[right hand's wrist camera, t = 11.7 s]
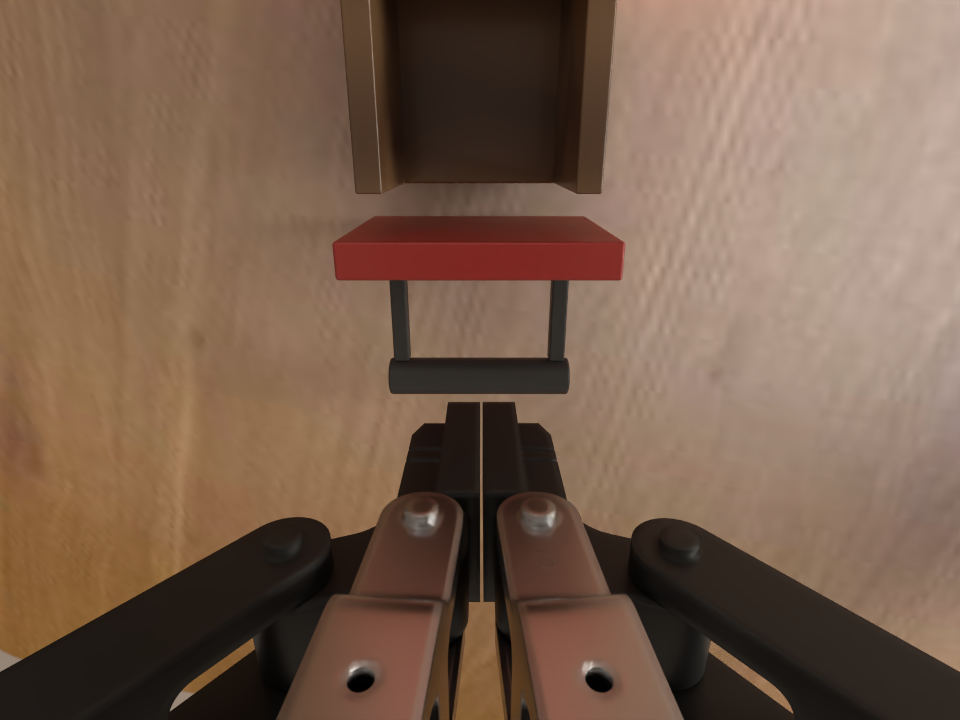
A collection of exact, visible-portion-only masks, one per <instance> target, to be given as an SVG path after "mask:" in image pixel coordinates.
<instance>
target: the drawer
mask: <svg viewBox="0 0 960 720" xmlns="http://www.w3.org/2000/svg"><path fill="white" fill-rule="evenodd" d="M340 3H341V16H342V28H343V41H344V53H345V66H346V79H347V91H348V104H349V117H350V129H351V142H352V154H353V167H354V180H355V192H356V193H357V194H381V193H383V192H386V191H388V190H390V189H392V188H395V187H397V186H399V185H401V184H404V183H555V184H557V185H559V186H561V187H564V188H566V189H568V190H570V191H572V192H574V193H577V194H601V193H602V188H603V175H604V162H605V149H606V136H607V124H608V111H609V98H610V85H611V72H612V59H613V46H614V34H615V21H616V8H617V0H340ZM624 253H625V243H624V242H623V241H621V240H620V239H618V238H617V237H615V236H614V235H612V234H610V233H609V232H607V231H606V230H604V229H603V228H601V227H600V226H598V225H597V224H595V223H593V222H592V221H590V220H589V219H587V218H586V217H584V216H375V217H373V218H371V219H370V220H368V221H366V222H365V223H363V224H362V225H360V226H359V227H357V228H355V229H354V230H352V231H351V232H349V233H348V234H346V235H344V236H343V237H341V238H340V239H338V240H336V241H335V242H333V256H334V266H335V276H336V279H337V280H390V296H391V313H392V329H393V346H394V358H392V359H391V360H390V364H389V388H390V391H391V393H392V394H566V393H567V392H568V389H569V382H570V371H569V363H568V360H567V358H564V351H565V334H566V317H567V300H568V284H569V280H621V279H622V274H623V263H624ZM407 280H551V292H550V313H549V334H548V358H410V356H411V348H410V327H409V307H408V286H407Z"/></svg>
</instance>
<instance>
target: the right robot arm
mask: <svg viewBox="0 0 960 720" xmlns="http://www.w3.org/2000/svg"><path fill="white" fill-rule="evenodd" d="M483 590H484V602H495V645H496V653H497V661H498V670H499V678H500V686H501V695H502V703H503V711H504V720H960V672H959V671H957V670H955V669H954V668H952V667H950V666H948V665H946V664H945V663H943V662H941V661H939V660H937V659H936V658H934V657H932V656H930V655H928V654H927V653H925V652H923V651H921V650H919V649H918V648H916V647H914V646H912V645H910V644H909V643H907V642H905V641H903V640H902V639H900V638H898V637H896V636H894V635H893V634H891V633H889V632H887V631H885V630H884V629H882V628H880V627H878V626H876V625H875V624H873V623H871V622H869V621H867V620H866V619H864V618H862V617H860V616H858V615H857V614H855V613H853V612H851V611H850V610H848V609H846V608H844V607H842V606H841V605H839V604H837V603H835V602H833V601H832V600H830V599H828V598H826V597H824V596H823V595H821V594H819V593H817V592H815V591H814V590H812V589H810V588H808V587H806V586H805V585H803V584H801V583H799V582H797V581H796V580H794V579H792V578H790V577H789V576H787V575H785V574H783V573H781V572H780V571H778V570H776V569H774V568H772V567H771V566H769V565H767V564H765V563H763V562H762V561H760V560H758V559H756V558H754V557H753V556H751V555H749V554H747V553H745V552H744V551H742V550H740V549H738V548H737V547H735V546H733V545H731V544H729V543H728V542H726V541H724V540H722V539H720V538H719V537H717V536H715V535H713V534H711V533H710V532H708V531H706V530H704V529H702V528H700V527H698V526H696V525H694V524H691V523H689V522H685V521H681V520H676V519H668V518H660V519H652V520H649V521H645V522H643V523H641V524H640V525H639V526H637V527H636V528H635V530H634V531H633V534H632V538H631V539H630V538H626V537H621V536H617V535H612V534H608V533H605V532H601V531H599V530H596V529H594V528H592V527H589V526H587V525H586V524H584V523H583V522H582V519H581V517H580V514H579V512H578V511H577V509H576V508H575V507H574V506H573V505H572V504H571V503H570V502H569V501H567V499H566V495H565V491H564V487H563V483H562V479H561V474H560V470H559V466H558V462H557V458H556V454H555V451H554V446H553V442H552V438H551V435H550V434H549V433H548V432H547V431H546V430H545V429H544V428H543V427H542V426H541V425H540V424H539V423H518V422H517V415H516V408H515V402H483ZM469 602H480V402H448V407H447V414H446V422H445V423H424V424H423V425H422V426H421V427H420V428H419V429H418V430H417V431H416V432H415V433H414V434H413V435H412V438H411V442H410V446H409V451H408V455H407V459H406V463H405V467H404V472H403V476H402V480H401V484H400V489H399V493H398V497H397V498H396V499H395V500H393V501H391V502H390V503H389V504H388V505H387V506H386V507H385V508H384V509H383V511H382V512H381V514H380V517H379V519H378V522H377V525H376V526H375V527H373V528H371V529H368V530H366V531H363V532H360V533H356V534H352V535H348V536H343V537H339V538H334V539H331V536H330V532H329V530H328V529H327V527H326V526H325V525H324V524H322V523H321V522H319V521H317V520H314V519H311V518H305V517H292V518H285V519H280V520H276V521H273V522H270V523H268V524H265V525H263V526H261V527H259V528H258V529H256V530H254V531H252V532H250V533H249V534H247V535H245V536H243V537H241V538H240V539H238V540H236V541H234V542H232V543H231V544H229V545H227V546H225V547H223V548H222V549H220V550H218V551H216V552H215V553H213V554H211V555H209V556H207V557H206V558H204V559H202V560H200V561H198V562H197V563H195V564H193V565H191V566H189V567H188V568H186V569H184V570H182V571H180V572H179V573H177V574H175V575H173V576H171V577H170V578H168V579H166V580H164V581H163V582H161V583H159V584H157V585H155V586H154V587H152V588H150V589H148V590H146V591H145V592H143V593H141V594H139V595H137V596H136V597H134V598H132V599H130V600H128V601H127V602H125V603H123V604H121V605H119V606H118V607H116V608H114V609H112V610H111V611H109V612H107V613H105V614H103V615H102V616H100V617H98V618H96V619H94V620H93V621H91V622H89V623H87V624H85V625H84V626H82V627H80V628H78V629H76V630H75V631H73V632H71V633H69V634H67V635H66V636H64V637H62V638H60V639H59V640H57V641H55V642H53V643H51V644H50V645H48V646H46V647H44V648H42V649H41V650H39V651H37V652H35V653H33V654H32V655H30V656H28V657H26V658H24V659H23V660H21V661H19V662H17V663H16V664H14V665H12V666H10V667H8V668H7V669H5V670H3V671H1V672H0V720H456V711H457V703H458V695H459V686H460V678H461V670H462V661H463V653H464V645H465V628H466V626H467V623H468V612H469ZM251 638H253V641H254V646H255V650H253V651H252V652H251V653H249V654H248V655H247V656H245V657H244V658H243V659H241V660H240V661H238V662H237V663H236V664H234V665H233V666H232V667H230V668H229V669H228V670H226V671H225V672H223V673H222V674H221V675H219V676H218V677H217V678H215V679H214V680H213V681H211V682H210V683H208V684H207V685H206V686H204V687H203V688H202V689H200V690H199V691H198V692H196V693H195V694H193V695H192V696H191V697H189V698H188V699H187V700H185V701H184V702H183V703H181V704H180V705H178V706H177V707H176V708H174V709H173V710H172V711H170V708H171V706H172V704H173V702H174V700H175V699H176V697H177V696H178V694H179V693H180V692H181V691H182V690H183V689H184V688H185V687H186V686H187V685H188V684H189V683H190V682H191V681H193V680H194V679H195V678H197V677H198V676H200V675H201V674H202V673H204V672H205V671H207V670H208V669H209V668H211V667H212V666H214V665H215V664H216V663H218V662H219V661H221V660H222V659H223V658H225V657H226V656H228V655H229V654H230V653H232V652H233V651H235V650H236V649H237V648H239V647H240V646H242V645H243V644H244V643H246V642H247V641H249V640H250V639H251ZM711 641H713V642H714V643H716V644H717V645H718V646H720V647H721V648H723V649H724V650H725V651H727V652H728V653H730V654H731V655H732V656H734V657H735V658H737V659H738V660H739V661H741V662H742V663H744V664H745V665H746V666H748V667H749V668H751V669H752V670H753V671H755V672H756V673H758V674H759V675H760V676H762V677H763V678H765V679H766V680H767V681H769V682H770V683H771V684H773V685H774V686H775V687H776V688H777V689H778V690H779V691H780V692H781V693H782V694H783V695H784V696H785V698H786V699H787V701H788V702H789V704H790V706H791V708H792V710H793V713H794V714H793V713H791V712H790V711H788V710H787V709H786V708H784V707H783V706H782V705H780V704H779V703H777V702H776V701H775V700H773V699H772V698H771V697H769V696H768V695H767V694H765V693H764V692H762V691H761V690H760V689H758V688H757V687H756V686H754V685H753V684H752V683H750V682H749V681H747V680H746V679H745V678H743V677H742V676H741V675H739V674H738V673H737V672H735V671H734V670H732V669H731V668H730V667H728V666H727V665H726V664H724V663H723V662H722V661H720V660H719V659H717V658H716V657H715V656H713V655H712V654H711V653H709V652H708V651H709V647H710V642H711Z"/></svg>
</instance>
